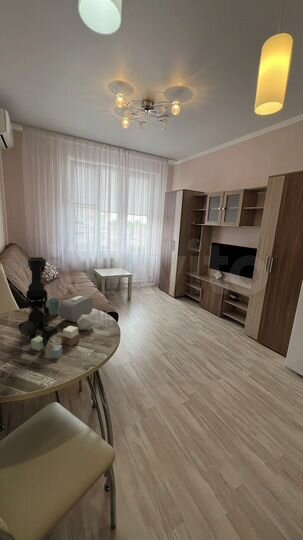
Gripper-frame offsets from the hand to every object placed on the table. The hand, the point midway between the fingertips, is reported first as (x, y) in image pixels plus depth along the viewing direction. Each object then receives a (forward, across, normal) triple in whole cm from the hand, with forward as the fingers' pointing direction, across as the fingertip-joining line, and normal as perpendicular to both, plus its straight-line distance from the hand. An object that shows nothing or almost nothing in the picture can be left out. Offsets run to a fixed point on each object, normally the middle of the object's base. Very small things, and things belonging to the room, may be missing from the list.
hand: (39, 344), depth 105 cm
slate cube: (+1, +12, -2) cm, 12 cm away
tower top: (-3, +10, +10) cm, 14 cm away
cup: (+2, -22, +32) cm, 39 cm away
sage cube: (+1, 0, 0) cm, 1 cm away
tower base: (+1, +10, +10) cm, 14 cm away
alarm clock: (+2, -6, +35) cm, 36 cm away
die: (+2, +8, +25) cm, 26 cm away
